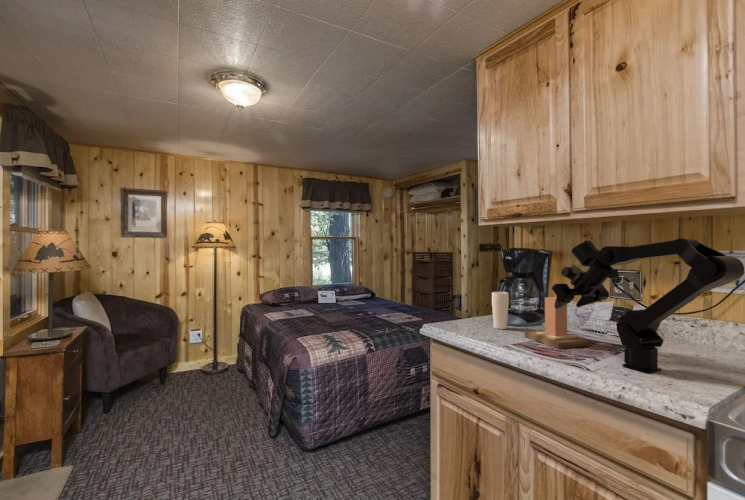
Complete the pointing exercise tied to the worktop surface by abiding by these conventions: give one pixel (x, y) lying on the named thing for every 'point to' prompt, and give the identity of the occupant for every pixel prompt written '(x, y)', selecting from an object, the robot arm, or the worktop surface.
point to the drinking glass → (500, 309)
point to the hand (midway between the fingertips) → (566, 306)
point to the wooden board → (557, 339)
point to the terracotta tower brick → (555, 318)
